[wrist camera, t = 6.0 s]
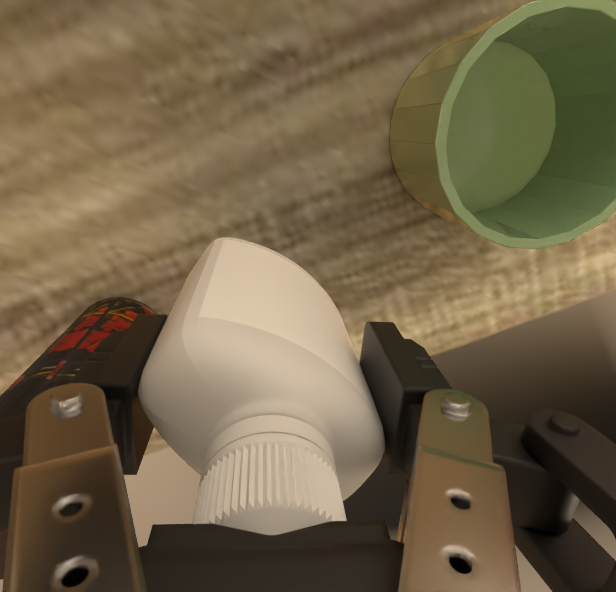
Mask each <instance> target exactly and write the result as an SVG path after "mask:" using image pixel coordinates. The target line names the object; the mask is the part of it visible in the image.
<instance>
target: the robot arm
mask: <svg viewBox="0 0 616 592" xmlns="http://www.w3.org/2000/svg"><path fill="white" fill-rule="evenodd" d="M167 318H168V317H167V315H157V314H138V315H137V316H136V318H135V319H134V321H133V322H132V324H131V325H130V327H129V328H128V330H127V331H115V332H114V333H112V334H110V335H109V336H107V337H105V338H104V339H102V340H101V341H100V343H99V344H98V345H97V347H96V348H95V349H94V352H92V353H91V355H90V356H89V358H88V361H86V362H85V363H84V364H83V366H82V367H81V368H80V370H79V371H78V372H77V374H76V375H75V376H74V378H73V379H72V380H71V382H70V383H69V384H65V385H60V386H57V387H53V388H51V389H48V390H46V391H44V392H42V393H40V394H39V395H37V396H36V397H35V398H33V399H32V400H31V401H30V403H29V404H28V406H27V409H26V414H23V415H18V416H13V417H8V418H2V419H0V532H1V531H4V530H8V537H7V548H6V559H5V570H4V580H3V592H521V586H520V579H519V571H518V564H517V556H516V549H515V545H516V546H517V547H518V549H519V550H520V551H521V552H522V554H523V555H524V556H525V558H526V559H527V560H528V561H529V563H530V564H531V565H532V566H533V568H534V569H535V570H536V571H537V573H538V574H539V575H540V576H541V578H542V579H543V580H544V581H545V583H546V584H547V585H548V587H549V588H550V589H551V590H552V592H616V561H615V560H614V559H613V558H612V557H611V556H610V555H609V554H608V553H607V552H606V551H605V550H604V549H603V548H602V547H601V546H600V545H599V544H598V543H597V542H596V541H595V540H594V539H593V538H592V537H591V536H590V534H589V533H587V531H586V530H584V528H583V527H582V526H580V524H579V523H578V522H577V521H576V520H575V519H574V518H573V515H574V513H575V510H576V508H577V505H578V502H579V500H581V501H582V502H583V503H584V504H585V505H586V506H587V507H588V508H589V509H590V510H591V511H592V512H593V513H594V514H595V515H597V516H598V517H599V518H600V519H601V520H602V521H603V522H604V523H605V524H606V525H607V526H608V527H609V528H610V530H611V531H612V533H613V534H614V536H615V538H616V444H614V443H613V442H612V441H610V440H609V439H608V438H606V437H605V436H603V435H602V434H601V433H600V432H598V431H597V430H596V429H594V428H593V427H591V426H590V425H589V424H587V423H586V422H584V421H583V420H581V419H579V418H577V417H575V416H573V415H571V414H568V413H565V412H562V411H558V410H554V409H545V408H544V409H535V410H533V411H531V412H530V413H529V414H528V417H527V420H526V423H525V426H523V425H518V424H513V423H508V422H503V421H499V420H495V419H491V418H489V414H488V410H487V409H486V407H485V406H484V404H482V403H481V402H480V401H479V400H478V399H476V398H475V397H473V396H471V395H469V394H467V393H464V392H461V391H457V390H453V389H452V388H451V386H450V385H449V383H448V382H447V380H446V379H445V378H444V376H443V375H442V373H441V372H440V370H439V369H438V368H436V365H435V363H434V362H433V361H432V360H431V358H430V356H429V355H428V353H427V352H426V350H425V349H424V348H423V347H422V346H420V345H419V344H417V343H416V342H414V341H413V340H411V339H404V338H403V337H402V335H401V334H400V332H399V330H398V329H397V327H396V326H395V324H394V323H393V322H367V323H366V325H365V329H364V336H363V343H362V351H361V358H360V366H361V369H362V372H363V374H364V377H365V379H366V382H367V385H368V387H369V390H370V392H371V395H372V398H373V400H374V403H375V406H376V409H377V412H378V415H379V418H380V420H381V423H382V426H383V431H384V436H385V452H384V454H383V457H384V460H385V463H386V466H387V469H388V471H389V474H395V473H396V474H398V473H399V474H400V473H401V474H402V473H405V474H406V476H407V483H406V488H405V493H404V499H403V506H402V512H401V518H400V526H399V531H398V538H397V541H395V540H391V539H390V536H389V533H388V529H387V526H386V523H385V520H372V521H371V520H369V521H329V522H325V523H321V524H318V525H314V526H310V527H306V528H302V529H298V530H294V531H290V532H286V533H282V534H278V535H265V534H260V533H255V532H250V531H246V530H241V529H236V528H231V527H227V526H222V525H217V524H166V525H165V524H163V525H153V526H152V530H151V533H150V537H149V540H148V544H147V545H146V546H143V547H139V548H138V543H137V538H136V534H135V528H134V524H133V519H132V514H131V509H130V504H129V499H128V494H127V490H126V484H125V480H124V475H136V474H137V472H138V469H139V466H140V464H141V461H142V458H143V455H144V452H145V450H146V447H147V444H148V441H149V439H150V436H151V433H152V430H153V428H154V426H153V424H152V423H151V421H150V420H149V418H148V417H147V415H146V414H145V412H144V410H143V408H142V405H141V402H140V399H139V396H138V388H139V384H140V379H141V375H142V372H143V369H144V367H145V365H146V362H147V360H148V358H149V356H150V353H151V351H152V349H153V347H154V345H155V342H156V340H157V338H158V336H159V334H160V332H161V330H162V328H163V326H164V324H165V322H166V320H167Z"/></svg>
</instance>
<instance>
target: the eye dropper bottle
mask: <svg viewBox="0 0 616 592" xmlns="http://www.w3.org/2000/svg"><path fill="white" fill-rule="evenodd" d="M138 396H139V399H140V402H141V405H142V408H143V410H144V412H145V414H146V415H147V417H148V418H149V420H150V421H151V423H152V424H153V426H154V427H155V428H156V430H157V431H158V432H159V433H160V435H161V436H162V437H163V438H164V440H165V441H166V442H167V443H168V444H169V445H170V446H171V447H172V449H173V450H174V451H175V452H176V453H177V454H178V455H179V456H180V457H181V458H182V459H183V460H184V461H185V462H186V463H187V464H188V465H190V466H191V467H192V468H193V469H194V470H195V471H197V472H198V473H199V474H200V475H201V480H200V486H199V491H198V497H197V502H196V508H195V513H194V519H193V524H217V525H222V526H227V527H231V528H236V529H241V530H246V531H250V532H255V533H260V534H265V535H278V534H282V533H286V532H290V531H294V530H298V529H302V528H306V527H310V526H314V525H318V524H321V523H325V522H329V521H346V516H345V511H344V506H343V500H345V499H347V498H348V497H349V496H350V495H351V494H352V493H354V492H355V491H356V490H357V489H358V488H359V487H360V486H361V485H362V484H363V483H364V481H365V480H366V479H367V478H368V477H369V476H370V475H371V474H372V472H373V471H374V469H375V468H376V467H377V466H378V465H379V463H380V460H381V458H382V456H383V454H384V452H385V436H384V431H383V426H382V423H381V420H380V418H379V415H378V412H377V409H376V406H375V403H374V400H373V398H372V395H371V392H370V390H369V387H368V385H367V382H366V379H365V377H364V374H363V372H362V369H361V366H360V364H359V361H358V358H357V356H356V353H355V351H354V348H353V346H352V343H351V341H350V338H349V335H348V333H347V330H346V328H345V325H344V323H343V320H342V318H341V315H340V313H339V311H338V309H337V307H336V306H335V304H334V303H333V301H332V300H331V298H330V297H329V296H328V294H327V293H326V292H325V290H324V289H323V288H322V287H321V286H320V284H319V283H318V282H317V281H316V280H315V279H314V278H313V277H312V276H311V275H310V274H308V273H307V272H306V271H305V270H304V269H303V268H301V267H300V266H299V265H297V264H296V263H295V262H293V261H291V260H290V259H288V258H287V257H285V256H283V255H281V254H279V253H277V252H275V251H273V250H271V249H269V248H266V247H264V246H261V245H258V244H255V243H252V242H249V241H245V240H241V239H237V238H230V237H224V238H217V239H216V240H214V241H213V242H212V243H210V244H209V246H208V247H207V248H206V250H205V251H204V252H203V254H202V255H201V257H200V258H199V260H198V261H197V263H196V264H195V266H194V267H193V269H192V270H191V272H190V273H189V275H188V277H187V279H186V281H185V283H184V285H183V287H182V289H181V291H180V293H179V295H178V297H177V299H176V301H175V303H174V305H173V307H172V309H171V311H170V313H169V315H168V318H167V320H166V322H165V324H164V326H163V328H162V330H161V332H160V334H159V336H158V338H157V340H156V342H155V345H154V347H153V349H152V351H151V353H150V356H149V358H148V360H147V362H146V365H145V367H144V369H143V372H142V375H141V379H140V384H139V388H138Z"/></svg>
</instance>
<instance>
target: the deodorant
mask: <svg viewBox="0 0 616 592" xmlns="http://www.w3.org/2000/svg"><path fill="white" fill-rule="evenodd" d="M138 314H156V313H155V312H154V311H153V310H151V309H150V308H149V307H147V306H146V305H144V304H142V303H140V302H137V301H135V300H132V299H126V298H108V299H105V300H102V301H98V302H96V303H95V304H93V305H92V306H90V307H89V308H88V309H87V310H86V311H85V312H84V313H83V314H82V315H81V316H80V317H79V318H78V319H77V320H76V321H75V322H74V323H73V324H72V325H71V326H70V327H69V328H68V329H67V330H66V331H65V332H64V333H63V334H62V335H61V336H60V337H59V338H58V339H57V340H56V341H55V342H54V343H53V344H52V345H51V346H50V347H49V348H48V349H47V350H46V351H45V352H44V353H43V354H42V355H41V356H40V357H39V358H38V359H37V360H36V361H35V362H34V363H33V364H32V365H31V366H30V367H29V368H28V369H27V370H26V371H25V372H24V373H23V374H22V375H21V376H20V377H19V378H18V379H17V380H16V381H15V382H14V383H13V384H12V385H11V386H10V387H9V388H8V389H7V390H6V391H5V392H4V393H3V394H2V395H1V396H0V419H2V418H8V417H13V416H18V415H23V414H26V409H27V406H28V404H29V403H30V401H31V400H32V399H33V398H35V397H36V396H37V395H39V394H40V393H42V392H44V391H46V390H48V389H51V388H53V387H57V386H60V385H65V384H69V383H70V382H71V380H72V379H73V378H74V376H75V375H76V374H77V372H78V371H79V370H80V368H81V367H82V366H83V364H84V363H85V362H86V361H88V358H89V356H90V355H91V353H92V352H94V349H95V348H96V347H97V345H98V344H99V343H100V341H101V340H102V339H104V338H105V337H107V336H109V335H110V334H112V333H114V332H115V331H127V330H128V328H129V327H130V325H131V324H132V322H133V321H134V319H135V318H136V316H137V315H138ZM7 537H8V530H4V531H1V532H0V579H4V570H5V559H6V548H7Z"/></svg>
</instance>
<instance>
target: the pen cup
mask: <svg viewBox="0 0 616 592" xmlns="http://www.w3.org/2000/svg"><path fill="white" fill-rule="evenodd" d="M390 151H391V156H392V161H393V164H394V168H395V171H396V173H397V175H398V177H399V179H400V181H401V183H402V185H403V186H404V188H405V189H406V191H407V192H408V193H409V194H410V195H411V196H412V197H413V198H414V199H415V200H416V201H417V202H418V203H420V204H421V205H422V206H424V207H425V208H426V209H427V210H429V211H431V212H433V213H435V214H437V215H439V216H441V217H443V218H445V219H447V220H449V221H451V222H453V223H455V224H457V225H459V226H461V227H463V228H465V229H467V230H469V231H470V232H472V233H474V234H476V235H478V236H481V237H483V238H485V239H488V240H490V241H493V242H495V243H497V244H500V245H502V246H505V247H509V248H528V249H541V248H545V247H549V246H552V245H556V244H560V243H564V242H568V241H571V240H574V239H575V238H577V237H579V236H581V235H582V234H584V233H586V232H587V231H589V230H591V229H593V228H594V227H596V226H598V225H599V224H601V223H603V222H604V221H606V220H607V219H608V218H609V217H610V216H611V215H612V214H613V213H614V212H615V211H616V3H614V2H613V1H611V0H537V1H533V2H529V3H527V4H524V5H522V6H520V7H518V8H516V9H514V10H512V11H510V12H508V13H505V14H503V15H501V16H499V17H497V18H495V19H493V20H491V21H489V22H487V23H484V24H482V25H480V26H478V27H476V28H474V29H472V30H470V31H468V32H466V33H464V34H461V35H459V36H457V37H455V38H453V39H452V40H450V41H449V42H447V43H446V44H444V45H442V46H441V47H439V48H437V49H436V50H434V51H433V52H432V53H431V54H429V55H428V56H427V57H426V58H425V59H424V60H423V61H422V62H421V63H420V64H419V65H418V66H417V67H416V68H415V70H414V71H413V72H412V74H411V75H410V76H409V77H408V79H407V81H406V83H405V84H404V86H403V88H402V90H401V92H400V94H399V96H398V99H397V101H396V104H395V107H394V110H393V114H392V120H391V125H390Z"/></svg>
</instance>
